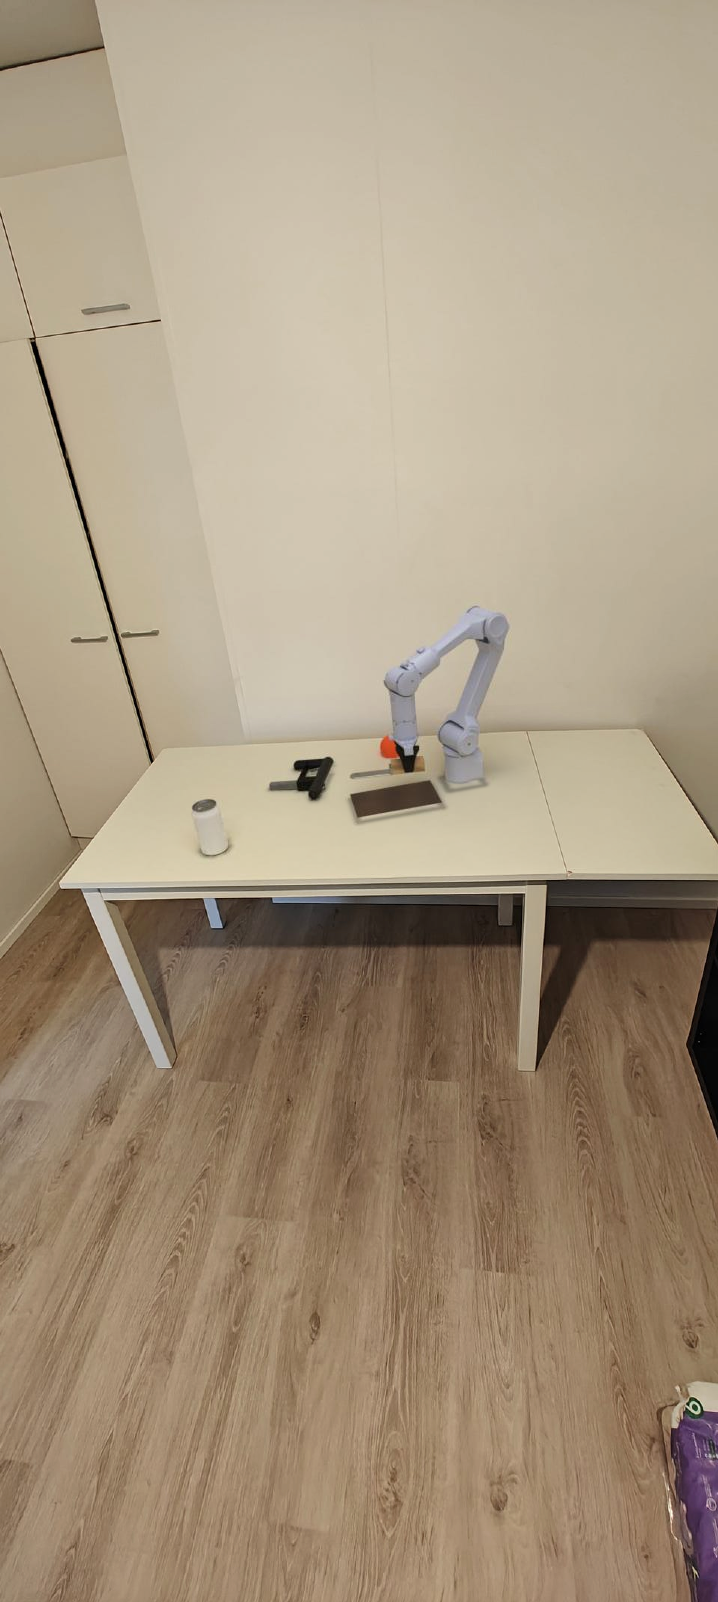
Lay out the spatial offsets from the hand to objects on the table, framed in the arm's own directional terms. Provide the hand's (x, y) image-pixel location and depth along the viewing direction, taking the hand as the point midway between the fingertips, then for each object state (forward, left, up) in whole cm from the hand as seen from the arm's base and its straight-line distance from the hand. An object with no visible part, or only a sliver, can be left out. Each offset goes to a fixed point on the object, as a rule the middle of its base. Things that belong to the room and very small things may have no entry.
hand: (408, 768), depth 173 cm
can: (+49, +6, -9) cm, 50 cm away
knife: (+5, -1, 0) cm, 5 cm away
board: (+4, 0, -9) cm, 10 cm away
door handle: (+26, -20, -9) cm, 34 cm away
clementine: (-1, -25, -9) cm, 27 cm away
